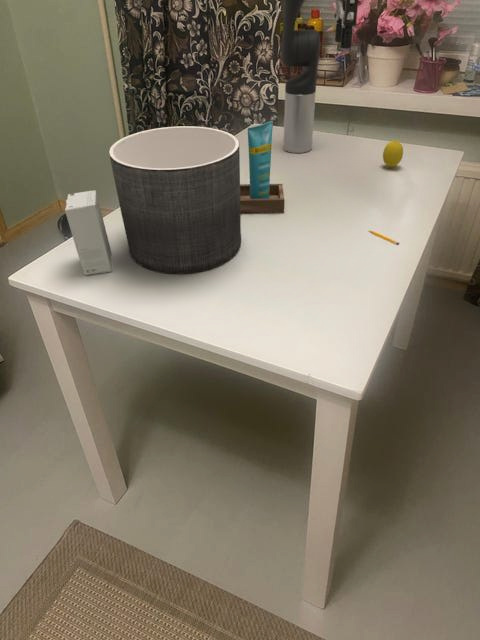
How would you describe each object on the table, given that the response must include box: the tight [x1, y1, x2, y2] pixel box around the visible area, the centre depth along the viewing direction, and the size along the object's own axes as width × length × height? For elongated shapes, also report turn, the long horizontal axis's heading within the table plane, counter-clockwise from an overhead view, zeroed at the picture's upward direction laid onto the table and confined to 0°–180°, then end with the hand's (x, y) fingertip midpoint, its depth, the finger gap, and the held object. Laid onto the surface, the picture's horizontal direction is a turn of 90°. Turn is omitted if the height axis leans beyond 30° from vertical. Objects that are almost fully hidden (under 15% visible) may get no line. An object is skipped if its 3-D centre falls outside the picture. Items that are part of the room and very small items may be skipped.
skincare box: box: [64, 189, 113, 276], centre depth 96 cm, size 8×6×15 cm
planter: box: [108, 125, 242, 275], centre depth 99 cm, size 25×25×22 cm
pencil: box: [368, 230, 400, 246], centre depth 107 cm, size 1×8×1 cm, turn 39°
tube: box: [247, 120, 274, 199], centre depth 115 cm, size 7×5×19 cm, turn 133°
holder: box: [240, 183, 285, 215], centre depth 120 cm, size 10×12×4 cm
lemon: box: [382, 139, 404, 169], centre depth 137 cm, size 6×6×8 cm
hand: (342, 45), depth 107 cm, fingers open, 8 cm apart
